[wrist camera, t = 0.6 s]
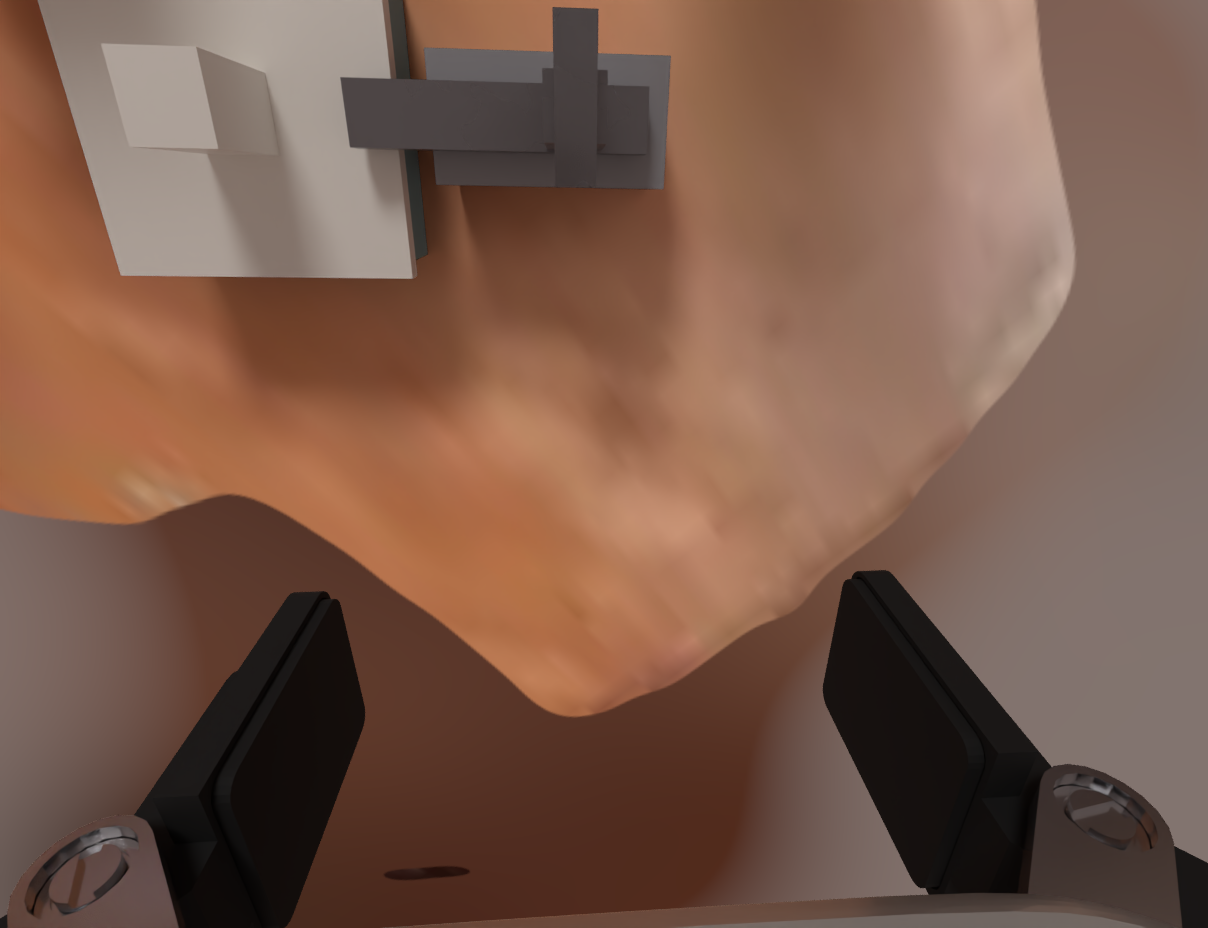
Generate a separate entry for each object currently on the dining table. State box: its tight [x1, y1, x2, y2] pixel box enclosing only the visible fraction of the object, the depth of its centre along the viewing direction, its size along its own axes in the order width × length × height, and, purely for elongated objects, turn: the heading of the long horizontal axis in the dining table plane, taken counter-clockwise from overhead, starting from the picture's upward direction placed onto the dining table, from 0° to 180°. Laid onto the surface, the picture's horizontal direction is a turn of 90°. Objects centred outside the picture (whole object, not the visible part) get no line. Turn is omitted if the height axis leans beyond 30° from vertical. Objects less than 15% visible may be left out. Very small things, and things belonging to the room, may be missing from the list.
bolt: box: [340, 7, 650, 188], centre depth 22 cm, size 5×12×6 cm, turn 89°
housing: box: [388, 0, 671, 260], centre depth 28 cm, size 12×24×6 cm, turn 89°
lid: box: [38, 0, 417, 279], centre depth 23 cm, size 13×13×6 cm
